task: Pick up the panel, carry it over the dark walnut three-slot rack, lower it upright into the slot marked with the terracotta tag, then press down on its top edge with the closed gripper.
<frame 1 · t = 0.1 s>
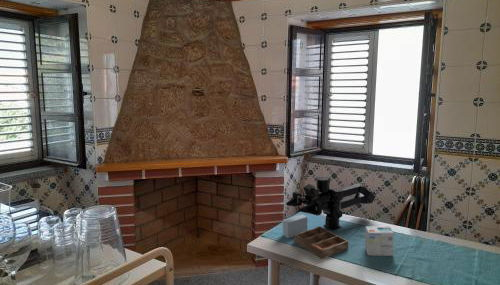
hand: (292, 207, 165), 17 cm above the table, tool horizontal, fingers open, 9 cm apart
panel: (295, 233, 175), on the table
light bulb box: (378, 252, 155), on the table
rack: (320, 245, 163), on the table
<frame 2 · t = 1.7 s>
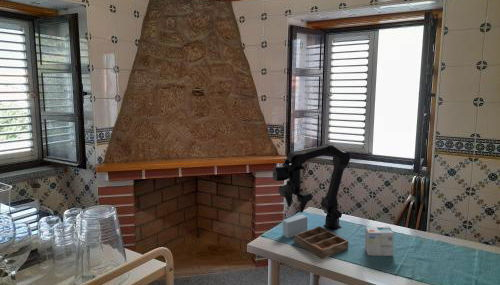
hand: (295, 209, 173), 12 cm above the table, tool pointing down, fingers open, 9 cm apart
nothing on the table moved.
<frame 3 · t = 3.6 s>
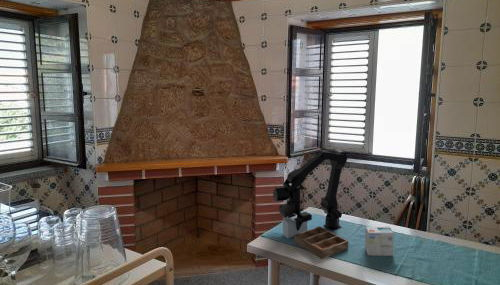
hand: (295, 228, 175), 3 cm above the table, tool pointing down, fingers closed on panel, 4 cm apart
panel: (295, 233, 175), on the table, touching gripper
everything else where it was.
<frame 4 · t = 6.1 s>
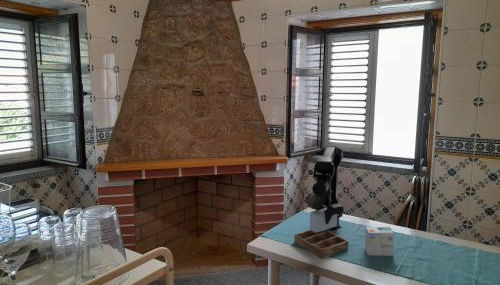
hand: (323, 222, 158), 12 cm above the table, tool pointing down, fingers closed on panel, 4 cm apart
panel: (323, 227, 158), point 10 cm above the table, touching gripper
everything else where it was.
when the fingers open (5 cm above the table, at t = 8.4 s): panel drops 2 cm, resting on rack.
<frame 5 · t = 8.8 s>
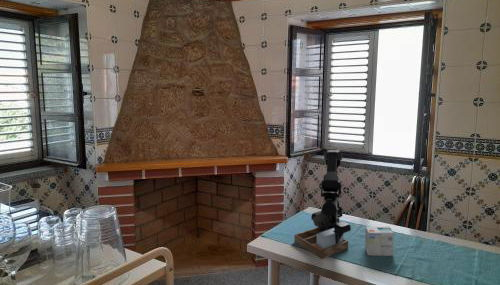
hand: (330, 239, 157), 5 cm above the table, tool pointing down, fingers open, 8 cm apart
panel: (329, 248, 158), point 1 cm above the table, touching rack
everything else where it was.
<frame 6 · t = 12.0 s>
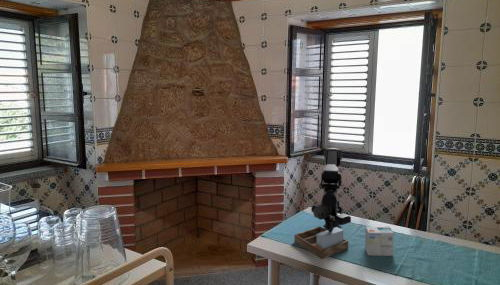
hand: (330, 232, 156), 9 cm above the table, tool pointing down, fingers closed, pressing on panel
panel: (329, 248, 158), point 1 cm above the table, touching gripper, rack
everything else where it was.
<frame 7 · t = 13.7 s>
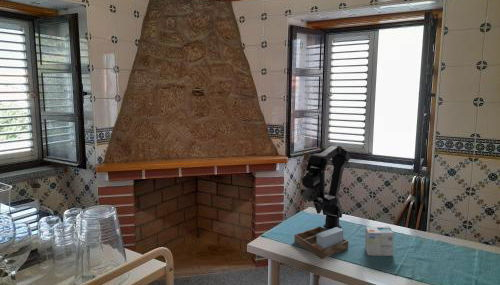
hand: (318, 213, 167), 13 cm above the table, tool pointing down, fingers closed
panel: (329, 248, 158), point 1 cm above the table, touching rack
everything else where it was.
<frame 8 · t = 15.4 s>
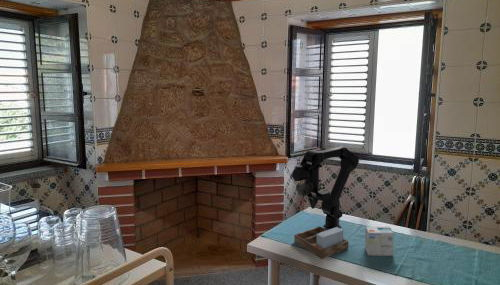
hand: (312, 208, 172), 13 cm above the table, tool pointing down, fingers closed
nothing on the table moved.
at the end: panel 0.1 cm from the target spot on the rack, point 0.8 cm above the rack's base; panel tilted 0°; the gripper is holding nothing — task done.
